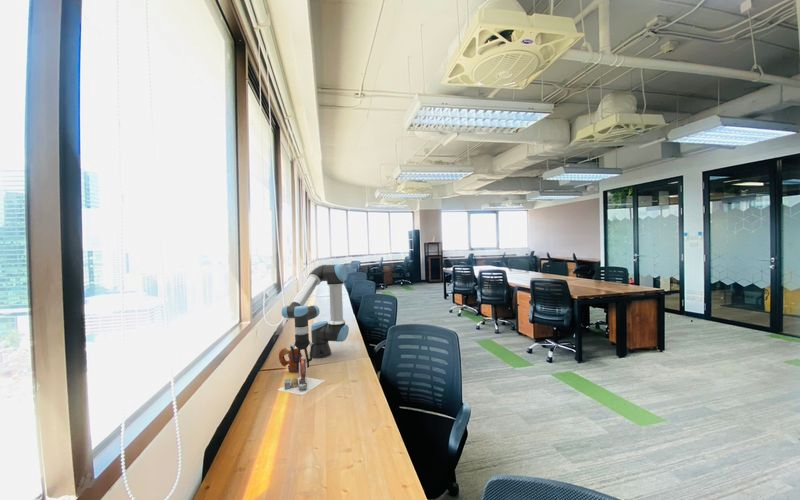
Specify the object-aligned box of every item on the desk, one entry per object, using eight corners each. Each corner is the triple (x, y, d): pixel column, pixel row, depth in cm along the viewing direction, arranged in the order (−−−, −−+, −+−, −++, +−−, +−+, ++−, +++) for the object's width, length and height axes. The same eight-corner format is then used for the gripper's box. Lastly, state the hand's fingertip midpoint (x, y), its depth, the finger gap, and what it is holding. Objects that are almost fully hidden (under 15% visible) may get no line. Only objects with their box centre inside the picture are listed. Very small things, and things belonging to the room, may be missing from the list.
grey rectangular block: (285, 385, 178) (284, 379, 178) (290, 385, 179) (290, 378, 179) (284, 389, 173) (284, 383, 173) (290, 388, 174) (290, 382, 174)
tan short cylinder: (294, 384, 180) (294, 378, 180) (299, 385, 178) (299, 379, 178) (289, 387, 176) (289, 380, 176) (295, 388, 175) (294, 381, 175)
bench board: (301, 378, 191) (301, 375, 191) (325, 382, 184) (325, 379, 184) (277, 392, 173) (277, 388, 173) (302, 397, 167) (302, 393, 167)
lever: (307, 389, 171) (306, 369, 171) (298, 390, 170) (297, 370, 170) (307, 376, 188) (306, 358, 188) (299, 377, 187) (298, 359, 187)
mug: (305, 370, 203) (304, 346, 203) (300, 375, 195) (299, 350, 195) (283, 369, 205) (282, 346, 205) (276, 375, 197) (276, 350, 197)
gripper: (286, 336, 180) (288, 378, 180) (316, 333, 185) (317, 374, 185) (287, 333, 187) (288, 373, 187) (315, 330, 192) (317, 369, 192)
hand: (303, 373), depth 186 cm, fingers closed on lever, 3 cm apart
